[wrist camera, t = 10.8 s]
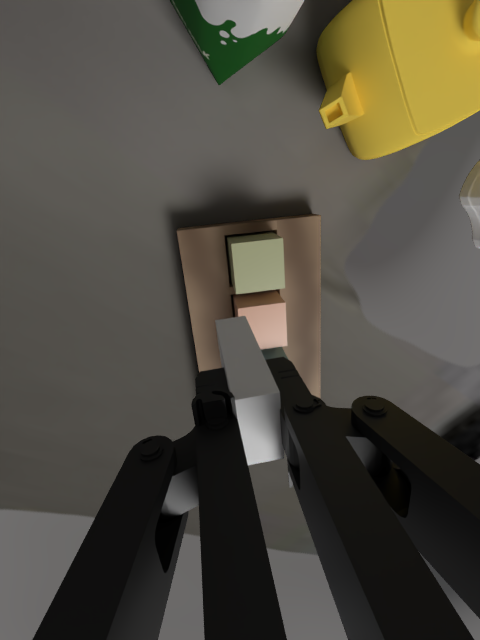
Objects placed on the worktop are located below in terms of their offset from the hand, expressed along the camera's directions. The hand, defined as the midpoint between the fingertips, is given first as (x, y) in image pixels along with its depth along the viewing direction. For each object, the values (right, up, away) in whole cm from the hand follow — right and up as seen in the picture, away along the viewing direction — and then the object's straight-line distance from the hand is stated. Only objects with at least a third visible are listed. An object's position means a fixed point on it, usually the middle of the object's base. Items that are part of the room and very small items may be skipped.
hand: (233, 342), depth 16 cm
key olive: (+1, +8, +18) cm, 19 cm away
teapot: (+14, +24, +14) cm, 31 cm away
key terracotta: (+2, +2, +20) cm, 20 cm away
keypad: (+2, 0, +22) cm, 22 cm away
